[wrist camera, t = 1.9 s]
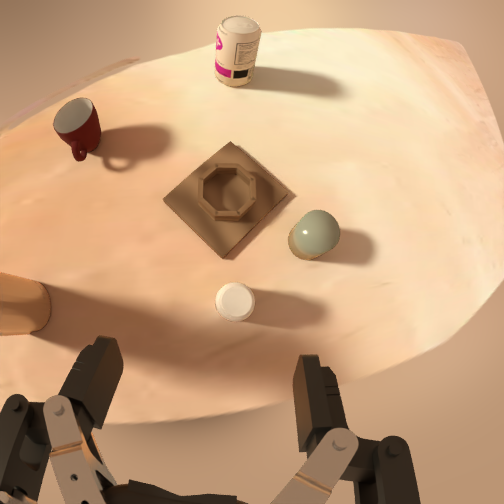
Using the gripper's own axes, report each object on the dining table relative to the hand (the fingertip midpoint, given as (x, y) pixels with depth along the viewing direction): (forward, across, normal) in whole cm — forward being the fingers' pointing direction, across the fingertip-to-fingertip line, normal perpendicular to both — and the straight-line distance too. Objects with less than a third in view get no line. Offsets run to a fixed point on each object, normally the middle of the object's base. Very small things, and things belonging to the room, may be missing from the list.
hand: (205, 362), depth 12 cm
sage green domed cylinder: (+36, +12, -11) cm, 40 cm away
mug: (+43, -30, +3) cm, 53 cm away
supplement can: (+58, -4, +18) cm, 61 cm away
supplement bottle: (+29, 0, -19) cm, 34 cm away
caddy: (+40, -2, -5) cm, 40 cm away
